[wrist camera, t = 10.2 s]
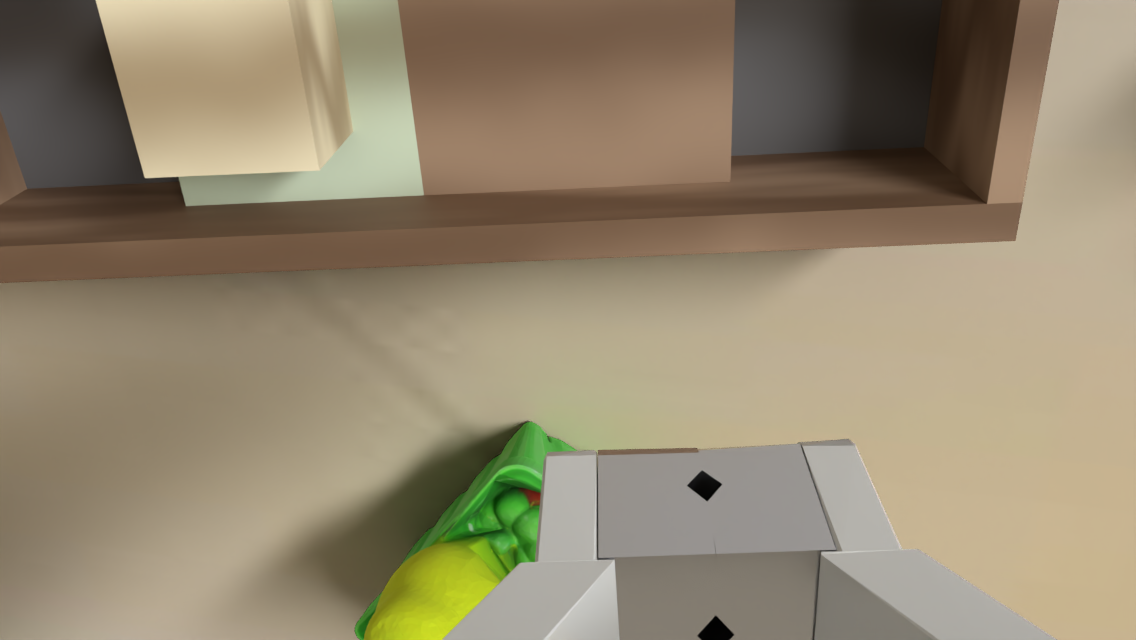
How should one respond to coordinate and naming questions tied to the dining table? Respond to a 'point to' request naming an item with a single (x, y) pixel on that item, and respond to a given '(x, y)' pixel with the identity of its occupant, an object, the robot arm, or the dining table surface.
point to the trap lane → (550, 137)
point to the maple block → (229, 84)
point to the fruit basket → (467, 546)
